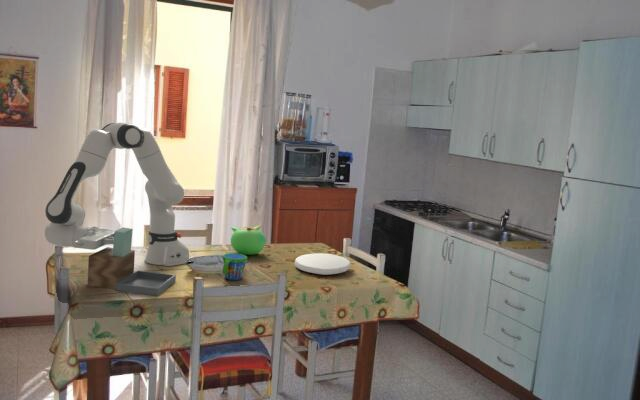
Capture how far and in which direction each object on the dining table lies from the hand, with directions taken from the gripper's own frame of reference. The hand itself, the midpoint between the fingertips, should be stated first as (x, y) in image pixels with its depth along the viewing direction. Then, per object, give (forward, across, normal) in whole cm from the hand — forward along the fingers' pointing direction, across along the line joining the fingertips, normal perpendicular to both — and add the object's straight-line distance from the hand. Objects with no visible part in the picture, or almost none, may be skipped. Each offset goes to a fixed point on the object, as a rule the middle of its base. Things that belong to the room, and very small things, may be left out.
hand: (117, 241), depth 243 cm
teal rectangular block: (+2, 0, +5) cm, 5 cm away
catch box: (+13, 0, +17) cm, 21 cm away
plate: (+78, +59, +18) cm, 99 cm away
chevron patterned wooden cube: (-2, 0, +17) cm, 17 cm away
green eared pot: (+38, +70, +18) cm, 82 cm away
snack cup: (+42, +25, +17) cm, 52 cm away
